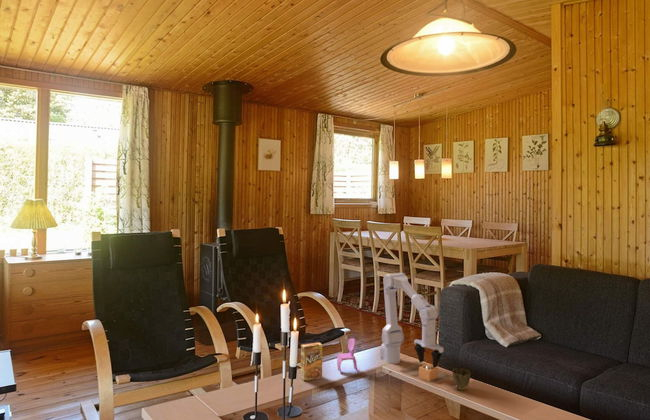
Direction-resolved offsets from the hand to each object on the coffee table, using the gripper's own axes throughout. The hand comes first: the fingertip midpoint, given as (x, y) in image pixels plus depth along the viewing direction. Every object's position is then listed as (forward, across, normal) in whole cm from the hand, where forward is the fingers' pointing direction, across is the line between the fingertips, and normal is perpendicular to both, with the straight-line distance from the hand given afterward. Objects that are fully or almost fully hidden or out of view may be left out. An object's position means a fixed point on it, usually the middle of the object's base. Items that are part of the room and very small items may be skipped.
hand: (428, 364), depth 205 cm
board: (+7, -4, +3) cm, 9 cm away
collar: (+6, 0, 0) cm, 6 cm away
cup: (+7, +15, +3) cm, 17 cm away
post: (+7, 0, 0) cm, 7 cm away
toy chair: (+7, -30, -21) cm, 37 cm away
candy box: (+7, -34, -39) cm, 52 cm away
